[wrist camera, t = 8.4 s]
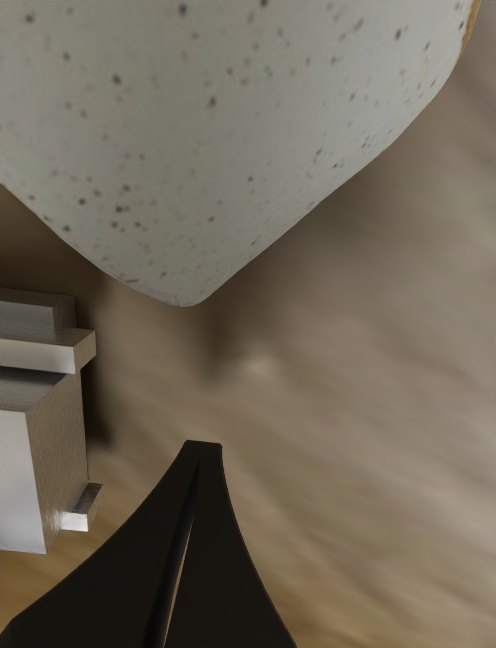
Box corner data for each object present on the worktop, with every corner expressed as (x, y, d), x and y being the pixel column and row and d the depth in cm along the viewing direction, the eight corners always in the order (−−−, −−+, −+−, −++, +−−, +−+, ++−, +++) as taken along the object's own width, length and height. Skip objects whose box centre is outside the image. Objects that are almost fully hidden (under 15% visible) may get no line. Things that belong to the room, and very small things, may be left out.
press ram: (88, 483, 14) (46, 554, 11) (-4, 473, 14) (-71, 542, 11) (79, 363, 12) (24, 412, 9) (-29, 351, 12) (-120, 396, 9)
